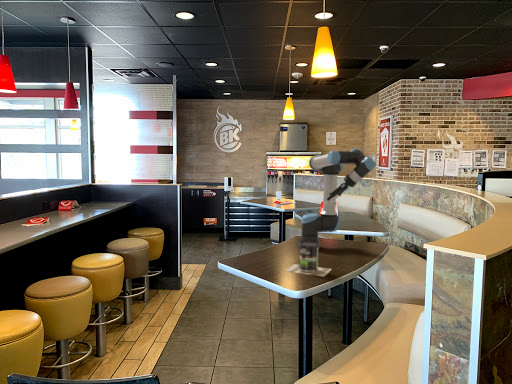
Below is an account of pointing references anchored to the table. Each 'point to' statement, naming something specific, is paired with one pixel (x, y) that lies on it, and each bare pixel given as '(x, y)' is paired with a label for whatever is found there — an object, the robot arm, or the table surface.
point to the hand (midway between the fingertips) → (326, 202)
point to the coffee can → (308, 257)
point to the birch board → (319, 272)
